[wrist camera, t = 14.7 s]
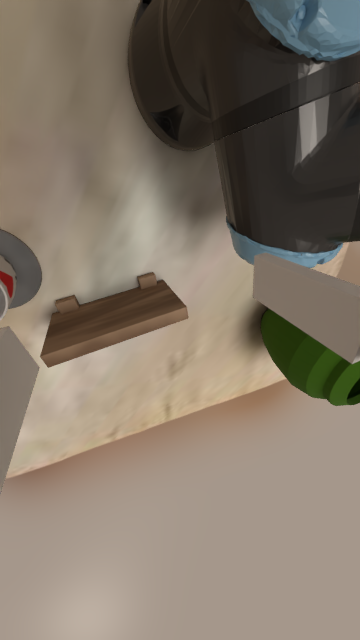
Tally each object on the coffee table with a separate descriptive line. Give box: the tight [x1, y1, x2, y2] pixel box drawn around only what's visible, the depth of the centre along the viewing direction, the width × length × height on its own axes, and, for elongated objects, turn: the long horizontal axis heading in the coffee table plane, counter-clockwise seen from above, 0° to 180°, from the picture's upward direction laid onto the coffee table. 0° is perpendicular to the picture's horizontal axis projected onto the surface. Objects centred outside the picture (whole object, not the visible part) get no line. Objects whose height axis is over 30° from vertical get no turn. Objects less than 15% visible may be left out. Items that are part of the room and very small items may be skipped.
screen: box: [40, 272, 188, 368], centre depth 34 cm, size 6×20×12 cm, turn 101°
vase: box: [261, 309, 360, 406], centre depth 47 cm, size 20×20×24 cm
